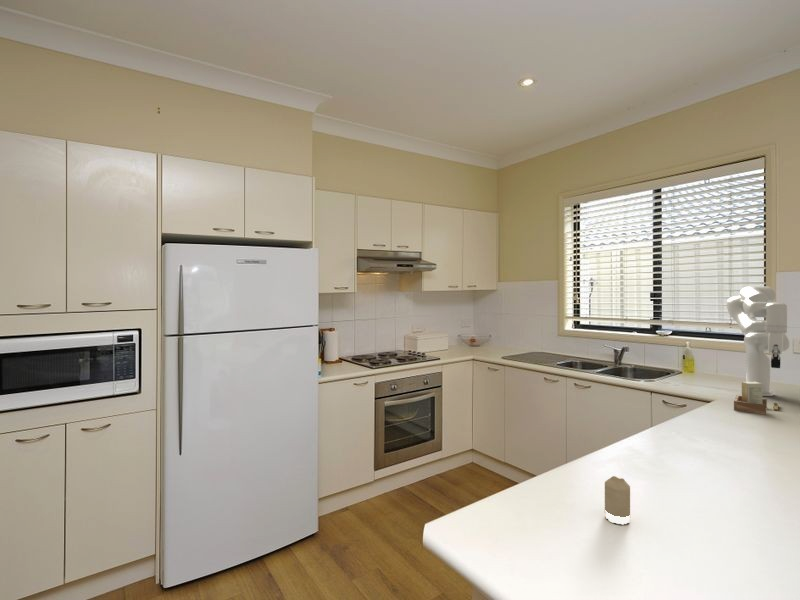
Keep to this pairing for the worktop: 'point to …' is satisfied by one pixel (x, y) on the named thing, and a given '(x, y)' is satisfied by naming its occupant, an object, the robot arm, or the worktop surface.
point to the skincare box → (752, 392)
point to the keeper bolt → (775, 405)
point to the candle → (617, 497)
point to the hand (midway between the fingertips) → (775, 366)
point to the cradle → (750, 406)
